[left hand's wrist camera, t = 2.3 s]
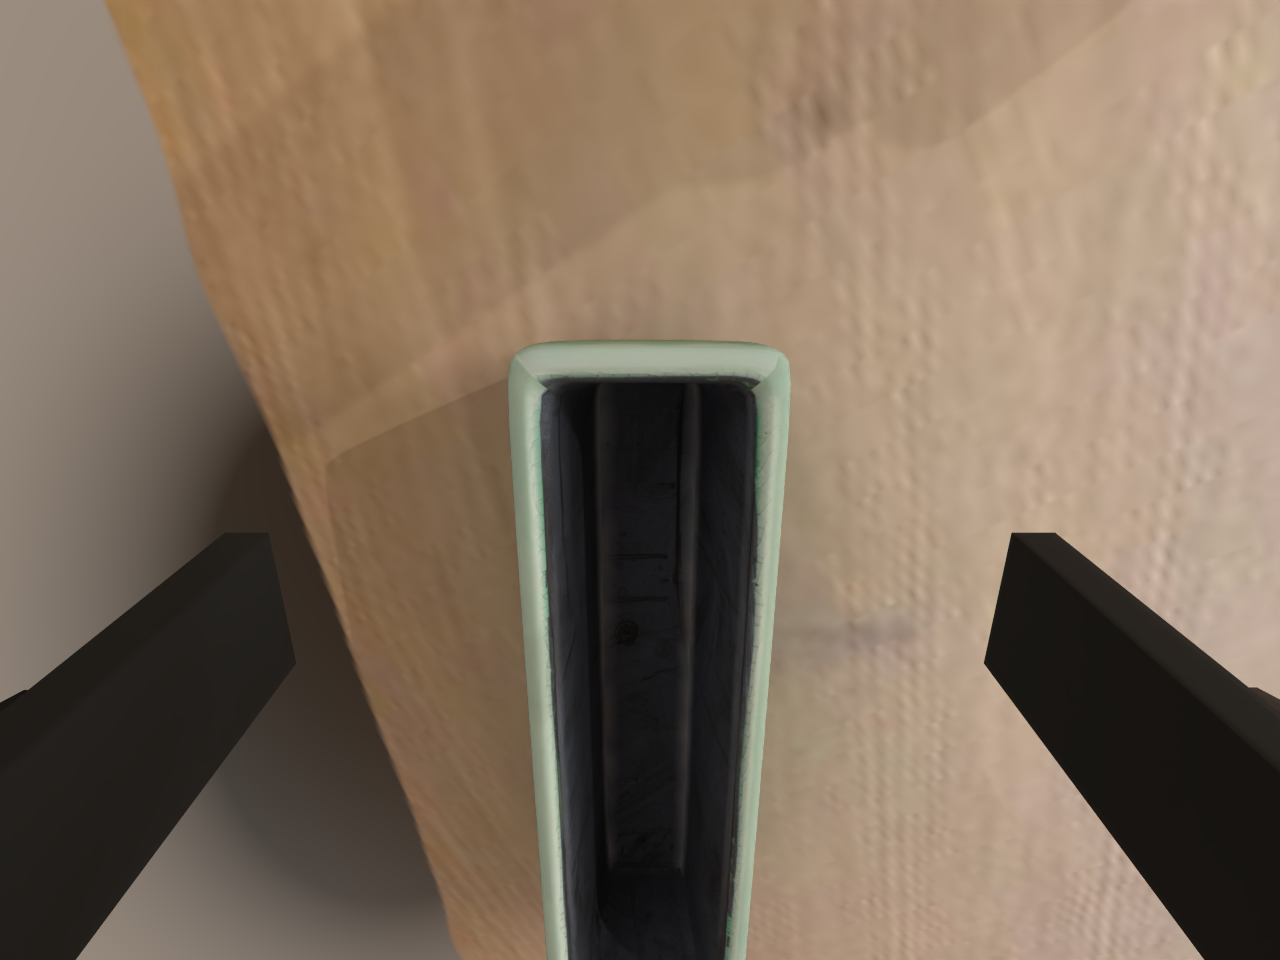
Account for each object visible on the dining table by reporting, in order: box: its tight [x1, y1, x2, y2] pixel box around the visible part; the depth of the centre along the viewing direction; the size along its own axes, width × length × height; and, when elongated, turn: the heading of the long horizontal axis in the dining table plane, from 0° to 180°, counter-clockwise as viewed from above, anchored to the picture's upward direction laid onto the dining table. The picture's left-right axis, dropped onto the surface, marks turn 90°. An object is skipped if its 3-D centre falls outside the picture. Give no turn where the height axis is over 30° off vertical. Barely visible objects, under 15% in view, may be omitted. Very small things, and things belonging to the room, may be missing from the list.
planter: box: [508, 340, 791, 960], centre depth 25 cm, size 28×7×7 cm, turn 0°
